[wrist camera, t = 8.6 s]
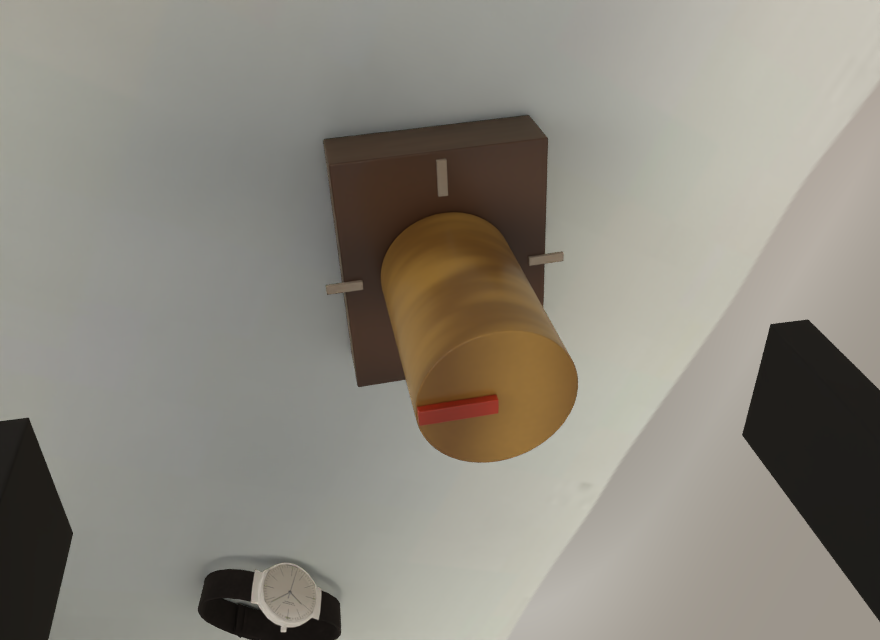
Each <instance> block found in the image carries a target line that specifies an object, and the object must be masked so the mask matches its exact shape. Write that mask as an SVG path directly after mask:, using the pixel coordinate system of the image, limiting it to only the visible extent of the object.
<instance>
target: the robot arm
mask: <svg viewBox="0 0 880 640" xmlns="http://www.w3.org/2000/svg"><path fill="white" fill-rule="evenodd" d="M742 435H743V437H744V438H745V440H746V441H747V442H748V444H749V445H750V446H751V448H752V449H753V450H754V452H755V453H756V454H757V456H758V457H759V459H760V460H761V461H762V463H763V464H764V465H765V467H766V468H767V469H768V471H769V472H770V473H771V475H772V476H773V477H774V479H775V480H776V481H777V483H778V484H779V485H780V487H781V488H782V490H783V491H784V492H785V494H786V495H787V496H788V498H789V499H790V501H791V502H792V503H793V505H794V506H795V507H796V509H797V510H798V511H799V513H800V514H801V515H802V517H803V518H804V519H805V521H806V522H807V524H808V525H809V526H810V528H811V529H812V530H813V532H814V533H815V534H816V536H817V537H818V538H819V540H820V541H821V543H822V544H823V545H824V547H825V548H826V549H827V551H828V552H829V553H830V555H831V556H832V557H833V559H834V560H835V561H836V563H837V564H838V566H839V567H840V568H841V570H842V571H843V572H844V574H845V575H846V576H847V578H848V579H849V580H850V581H851V583H852V585H853V586H854V587H855V589H856V590H857V591H858V593H859V594H860V595H861V597H862V598H863V599H864V601H865V602H866V603H867V605H868V606H869V608H870V609H871V610H872V612H873V613H874V614H875V616H876V617H877V618H878V620H879V621H880V390H879V389H878V388H877V387H876V386H875V385H874V384H873V383H872V382H871V381H870V380H869V379H868V378H867V377H866V376H865V375H864V374H863V373H862V372H861V371H860V370H859V369H858V368H857V367H856V366H855V365H854V364H852V362H851V361H849V359H847V357H846V356H844V354H842V353H841V352H840V351H839V350H838V349H837V348H836V347H835V346H834V345H833V344H832V343H831V342H830V341H829V340H828V339H827V338H826V337H825V336H824V335H823V334H822V333H821V332H820V331H819V330H818V329H817V328H816V327H815V326H814V325H813V324H812V323H811V322H810V321H809V320H801V321H793V322H785V323H777V324H771V325H770V329H769V333H768V337H767V340H766V344H765V348H764V352H763V356H762V360H761V364H760V368H759V372H758V376H757V380H756V383H755V387H754V391H753V395H752V399H751V403H750V407H749V411H748V415H747V419H746V423H745V427H744V430H743V434H742ZM72 536H73V532H72V529H71V527H70V524H69V521H68V519H67V516H66V514H65V511H64V508H63V506H62V503H61V501H60V498H59V495H58V493H57V490H56V488H55V485H54V482H53V480H52V477H51V475H50V472H49V469H48V467H47V464H46V462H45V459H44V456H43V454H42V451H41V449H40V446H39V443H38V441H37V438H36V436H35V433H34V430H33V428H32V425H31V423H30V420H29V418H23V419H15V420H7V421H0V640H48V638H49V634H50V630H51V626H52V621H53V617H54V613H55V609H56V604H57V600H58V596H59V591H60V587H61V583H62V579H63V574H64V570H65V566H66V561H67V557H68V553H69V549H70V544H71V540H72Z"/></svg>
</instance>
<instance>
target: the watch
mask: <svg viewBox="0 0 880 640" xmlns="http://www.w3.org/2000/svg"><path fill="white" fill-rule="evenodd" d="M223 598H231V599H241V600H246V601H250V602H251V603H253V604H258V606H259V608H260V609H261V610H262V611H261V610H257V609H253V608H250V607H247V606H244V605H242V604H238V605H237V604H235V603H232V602H230V601H227V600H225V599H223ZM198 612H199V614H200V616H201V617H202V618H203V619H204V620H205V621H206V622H208V623H210V624H211V625H213V626H215V627H217V628H219V629H222V630H224V631H227V632H229V633H231V634H234V635H238V637H240V638H241V637H244V638H247V639H250V640H335V639H337V638H338V637H339V636H340V635H341V615H340V603H339V601H338V600H337V598H335V597H333V596H332V595H330V594H329V593H326V592H324V591H321V588H320V587H316V583H315V582H314V581H313V579H312V578H311V576H310V575H309V574H308V573H307V572H306V571H305V570H304V569H302V568H301V567H299V566H297V565H295V564H291V563H280V564H276V565H274V566H272V567H270V568H268V569H266V570H264V571H263V572H260V571H258V570H256V569H255V572H251V571H246V570H238V569H226V570H218V571H215V572H212V573H210V574H209V575H207V577H206V578H205V580H204V586H203V590H202V594H201V598H200V602H199V606H198Z"/></svg>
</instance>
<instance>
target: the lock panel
mask: <svg viewBox="0 0 880 640" xmlns="http://www.w3.org/2000/svg"><path fill="white" fill-rule="evenodd" d="M323 144H324V151H325V159H326V166H327V173H328V181H329V188H330V196H331V203H332V211H333V218H334V225H335V233H336V240H337V248H338V255H339V263H340V270H341V277H342V283H336V284H329V285H326V291H327V295H329V294H336V293H343V292H344V300H345V307H346V315H347V322H348V330H349V337H350V344H351V352H352V358H353V363H354V369H355V374H356V380H357V385H358V387H362V386H368V385H375V384H381V383H387V382H394V381H400V380H406V379H405V375H404V371H403V367H402V363H401V359H400V356H399V352H398V348H397V344H396V340H395V337H394V333H393V329H392V325H391V321H390V318H389V314H388V310H387V306H386V302H385V299H384V295H383V291H382V286H381V268H382V264H383V260H384V257H385V255H386V253H387V251H388V249H389V248H390V246H391V244H392V243H393V242H394V240H395V239H396V238H397V237H398V236H399V235H400V234H401V233H402V232H403V231H404V230H405V229H407V228H408V227H409V226H411V225H412V224H414V223H416V222H417V221H419V220H421V219H424V218H426V217H429V216H432V215H435V214H440V213H449V212H459V213H466V214H471V215H474V216H477V217H480V218H482V219H484V220H486V221H488V222H489V223H491V224H492V225H493V226H494V227H496V228H497V229H498V230H499V231H500V233H501V234H502V235H503V237H504V238H505V240H506V242H507V243H508V245H509V247H510V249H511V251H512V252H513V254H514V256H515V258H516V260H517V262H518V263H519V265H520V267H521V269H522V271H523V272H524V274H525V276H526V278H527V280H528V281H529V283H530V285H531V287H532V289H533V290H534V292H535V294H536V296H537V298H538V299H539V301H540V303H541V305H542V307H543V302H544V265H545V263H552V262H559V261H563V254H564V253H563V252H555V253H548V254H545V229H546V192H547V156H548V138H547V137H546V135H545V134H544V133H543V132H542V130H541V129H540V128H539V127H538V126H537V124H536V123H535V122H534V121H533V120H532V118H531V117H530V116H529V115H526V116H517V117H509V118H500V119H492V120H483V121H475V122H466V123H458V124H449V125H441V126H432V127H424V128H415V129H407V130H398V131H390V132H381V133H373V134H364V135H356V136H347V137H339V138H330V139H324V140H323Z"/></svg>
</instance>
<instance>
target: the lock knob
mask: <svg viewBox="0 0 880 640" xmlns="http://www.w3.org/2000/svg"><path fill="white" fill-rule="evenodd" d="M381 286H382V291H383V295H384V299H385V302H386V306H387V310H388V314H389V318H390V321H391V325H392V329H393V333H394V337H395V340H396V344H397V348H398V352H399V356H400V359H401V363H402V367H403V371H404V375H405V379H406V382H407V386H408V390H409V394H410V398H411V401H412V405H413V409H414V413H415V417H416V420H417V423H418V426H419V429H420V431H421V433H422V434H423V436H424V437H425V439H426V440H427V441H428V442H429V443H430V444H431V445H432V446H433V447H434V448H435V449H437V450H438V451H440V452H441V453H443V454H445V455H447V456H449V457H452V458H455V459H458V460H462V461H467V462H478V463H479V462H495V461H501V460H506V459H509V458H513V457H516V456H519V455H521V454H523V453H526V452H528V451H530V450H532V449H533V448H535V447H537V446H538V445H540V444H541V443H543V442H544V441H546V440H547V439H548V438H549V437H551V436H552V435H553V434H554V433H555V432H556V431H557V430H558V429H559V428H560V427H561V425H562V424H563V423H564V422H565V420H566V419H567V417H568V415H569V414H570V412H571V410H572V408H573V406H574V403H575V400H576V396H577V390H578V377H577V371H576V368H575V365H574V362H573V361H572V359H571V357H570V355H569V353H568V352H567V350H566V348H565V346H564V344H563V343H562V341H561V339H560V337H559V335H558V334H557V332H556V330H555V328H554V326H553V325H552V323H551V321H550V319H549V317H548V316H547V314H546V312H545V310H544V308H543V307H542V305H541V303H540V301H539V299H538V298H537V296H536V294H535V292H534V290H533V289H532V287H531V285H530V283H529V281H528V280H527V278H526V276H525V274H524V272H523V271H522V269H521V267H520V265H519V263H518V262H517V260H516V258H515V256H514V254H513V252H512V251H511V249H510V247H509V245H508V243H507V242H506V240H505V238H504V237H503V235H502V234H501V233H500V231H499V230H498V229H497V228H496V227H494V226H493V225H492V224H491V223H489V222H488V221H486V220H484V219H482V218H480V217H477V216H474V215H471V214H466V213H459V212H449V213H440V214H435V215H432V216H429V217H426V218H424V219H421V220H419V221H417V222H416V223H414V224H412V225H411V226H409V227H408V228H407V229H405V230H404V231H403V232H402V233H401V234H400V235H399V236H398V237H397V238H396V239H395V240H394V242H393V243H392V244H391V246H390V248H389V249H388V251H387V253H386V255H385V257H384V260H383V264H382V268H381Z"/></svg>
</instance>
